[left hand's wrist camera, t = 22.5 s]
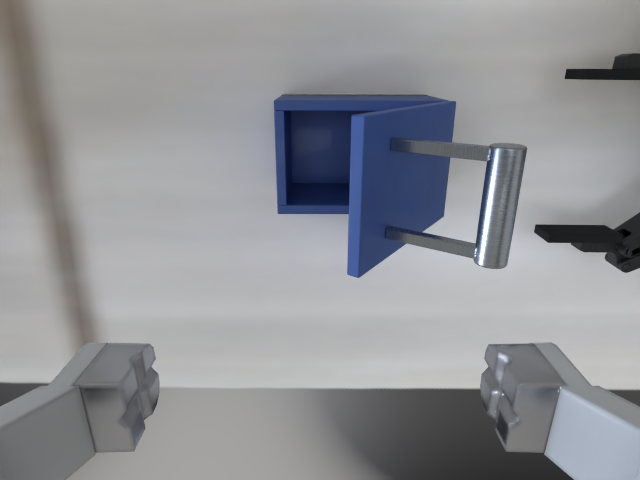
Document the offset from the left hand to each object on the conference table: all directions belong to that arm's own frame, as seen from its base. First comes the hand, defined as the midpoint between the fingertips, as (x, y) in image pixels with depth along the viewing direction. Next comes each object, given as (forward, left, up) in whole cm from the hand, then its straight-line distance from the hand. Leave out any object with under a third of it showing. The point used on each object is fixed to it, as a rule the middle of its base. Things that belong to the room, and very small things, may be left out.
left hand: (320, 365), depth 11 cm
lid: (+3, -5, -21) cm, 21 cm away
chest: (+2, -3, -35) cm, 35 cm away
